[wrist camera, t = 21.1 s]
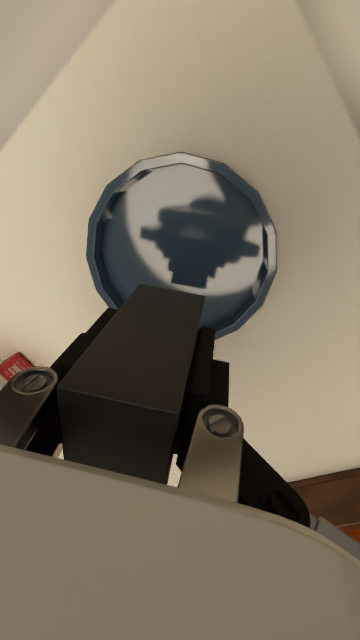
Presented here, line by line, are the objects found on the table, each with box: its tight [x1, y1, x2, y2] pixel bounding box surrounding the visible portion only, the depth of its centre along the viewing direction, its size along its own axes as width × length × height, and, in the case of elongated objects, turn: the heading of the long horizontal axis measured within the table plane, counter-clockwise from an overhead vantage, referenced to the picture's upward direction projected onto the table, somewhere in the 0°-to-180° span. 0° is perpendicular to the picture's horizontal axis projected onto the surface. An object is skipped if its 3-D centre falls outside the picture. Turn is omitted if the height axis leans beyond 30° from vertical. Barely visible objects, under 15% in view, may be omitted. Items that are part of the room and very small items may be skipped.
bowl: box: [86, 152, 277, 340], centre depth 17 cm, size 11×11×2 cm
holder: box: [288, 468, 360, 531], centre depth 27 cm, size 22×8×4 cm, turn 121°
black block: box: [57, 284, 205, 485], centre depth 11 cm, size 3×4×7 cm
